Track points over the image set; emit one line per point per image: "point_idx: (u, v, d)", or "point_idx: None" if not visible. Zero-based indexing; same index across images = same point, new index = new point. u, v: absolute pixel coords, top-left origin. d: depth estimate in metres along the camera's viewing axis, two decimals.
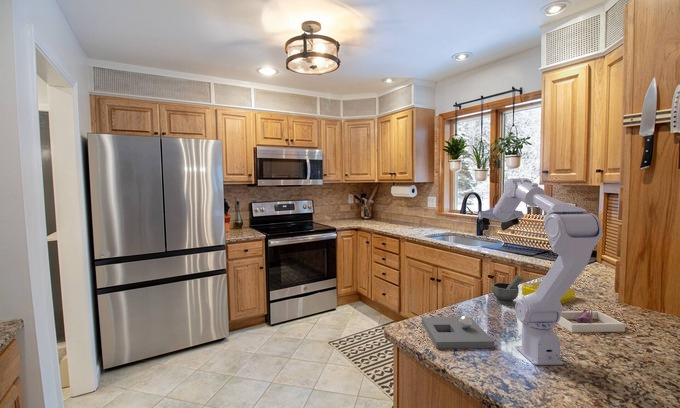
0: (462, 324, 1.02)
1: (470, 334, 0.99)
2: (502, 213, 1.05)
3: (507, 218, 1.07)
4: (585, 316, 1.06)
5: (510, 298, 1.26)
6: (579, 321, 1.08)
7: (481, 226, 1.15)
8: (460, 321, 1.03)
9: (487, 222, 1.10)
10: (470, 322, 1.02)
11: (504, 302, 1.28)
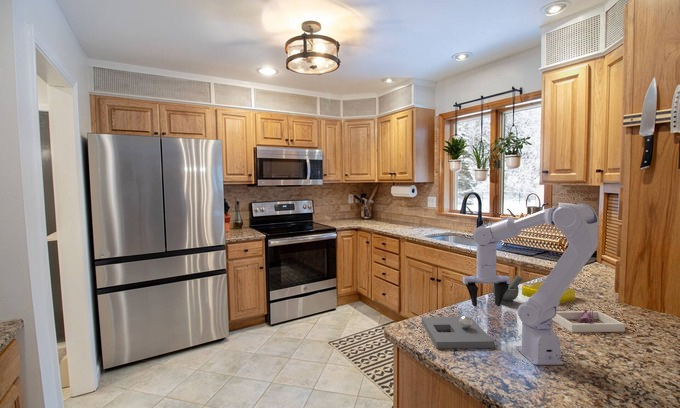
0: (462, 324, 1.02)
1: (470, 334, 0.99)
2: (484, 269, 1.00)
3: (492, 276, 1.00)
4: (587, 316, 1.06)
5: (510, 298, 1.26)
6: (581, 322, 1.07)
7: (473, 300, 1.03)
8: (460, 321, 1.03)
9: (474, 286, 1.01)
10: (470, 322, 1.02)
11: (504, 302, 1.28)
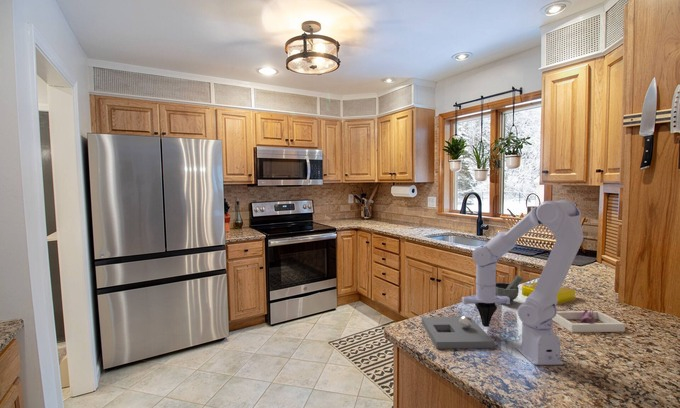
0: (462, 324, 1.02)
1: (470, 334, 0.99)
2: (483, 289, 1.00)
3: (491, 297, 1.00)
4: (588, 316, 1.06)
5: (510, 298, 1.26)
6: (582, 322, 1.07)
7: (483, 320, 1.03)
8: (460, 321, 1.03)
9: (485, 306, 1.01)
10: (470, 322, 1.02)
11: None
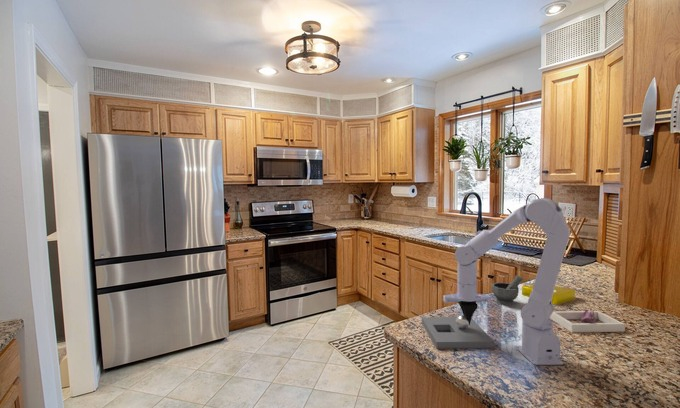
0: (460, 326, 1.02)
1: (470, 334, 0.99)
2: (464, 288, 1.01)
3: (472, 296, 1.00)
4: (589, 316, 1.06)
5: (510, 298, 1.26)
6: (583, 322, 1.07)
7: None
8: (457, 324, 1.03)
9: (467, 305, 1.01)
10: (465, 321, 1.02)
11: (504, 302, 1.28)
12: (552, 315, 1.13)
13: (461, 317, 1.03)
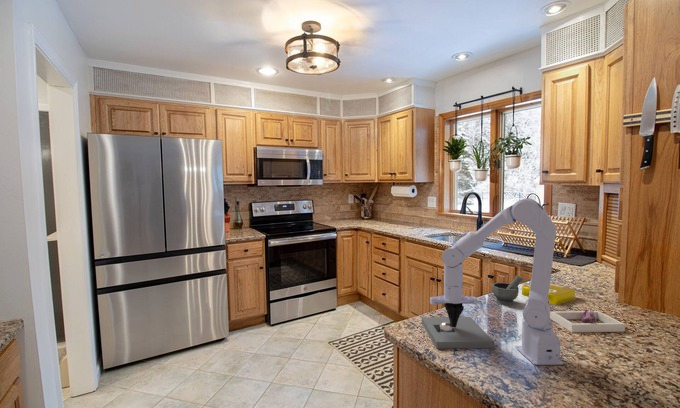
0: None
1: (470, 334, 0.99)
2: (450, 290, 1.01)
3: (458, 297, 1.00)
4: (590, 316, 1.06)
5: (510, 298, 1.26)
6: (584, 322, 1.07)
7: (451, 320, 1.03)
8: None
9: (452, 307, 1.01)
10: (443, 329, 1.02)
11: (504, 302, 1.28)
12: (552, 315, 1.13)
13: (440, 330, 1.03)
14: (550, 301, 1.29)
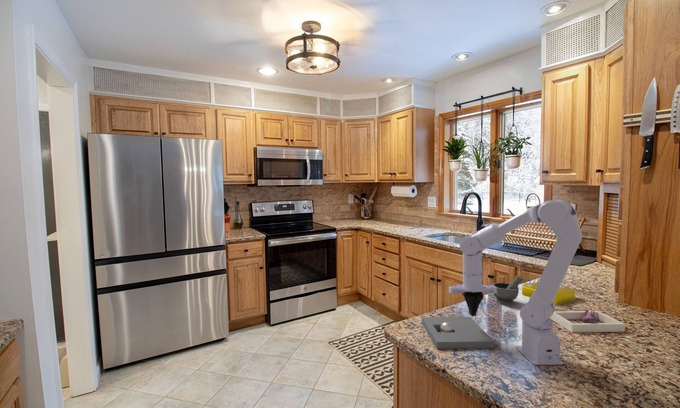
0: None
1: (470, 334, 0.99)
2: (470, 278, 1.00)
3: (478, 286, 1.00)
4: (591, 316, 1.06)
5: (510, 298, 1.26)
6: (584, 322, 1.07)
7: (470, 309, 1.03)
8: None
9: (471, 296, 1.01)
10: (444, 328, 1.02)
11: (504, 302, 1.28)
12: (552, 315, 1.13)
13: (440, 329, 1.03)
14: None
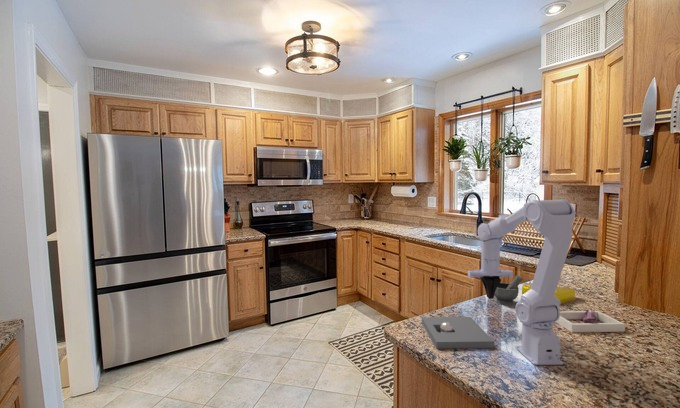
0: None
1: (470, 334, 0.99)
2: (488, 263, 1.07)
3: (496, 270, 1.07)
4: (592, 317, 1.06)
5: (510, 298, 1.26)
6: (585, 322, 1.07)
7: (488, 292, 1.10)
8: None
9: (489, 279, 1.08)
10: (444, 329, 1.02)
11: (504, 302, 1.28)
12: None
13: (440, 330, 1.03)
14: None
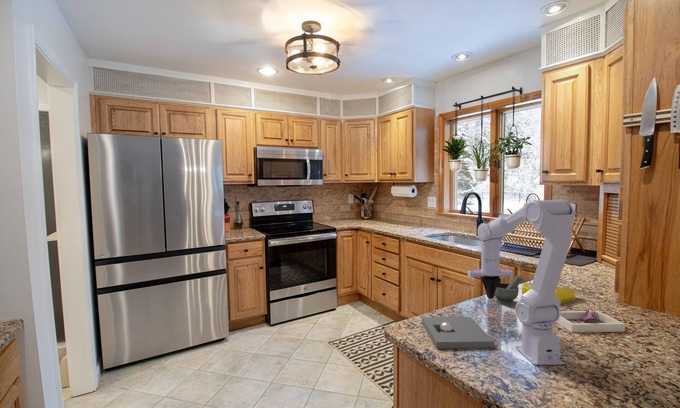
0: None
1: (470, 334, 0.99)
2: (488, 263, 1.07)
3: (496, 270, 1.07)
4: (592, 316, 1.06)
5: (510, 298, 1.26)
6: (585, 322, 1.07)
7: (488, 292, 1.10)
8: None
9: (489, 279, 1.08)
10: (443, 329, 1.02)
11: (504, 302, 1.28)
12: None
13: (440, 330, 1.03)
14: None
